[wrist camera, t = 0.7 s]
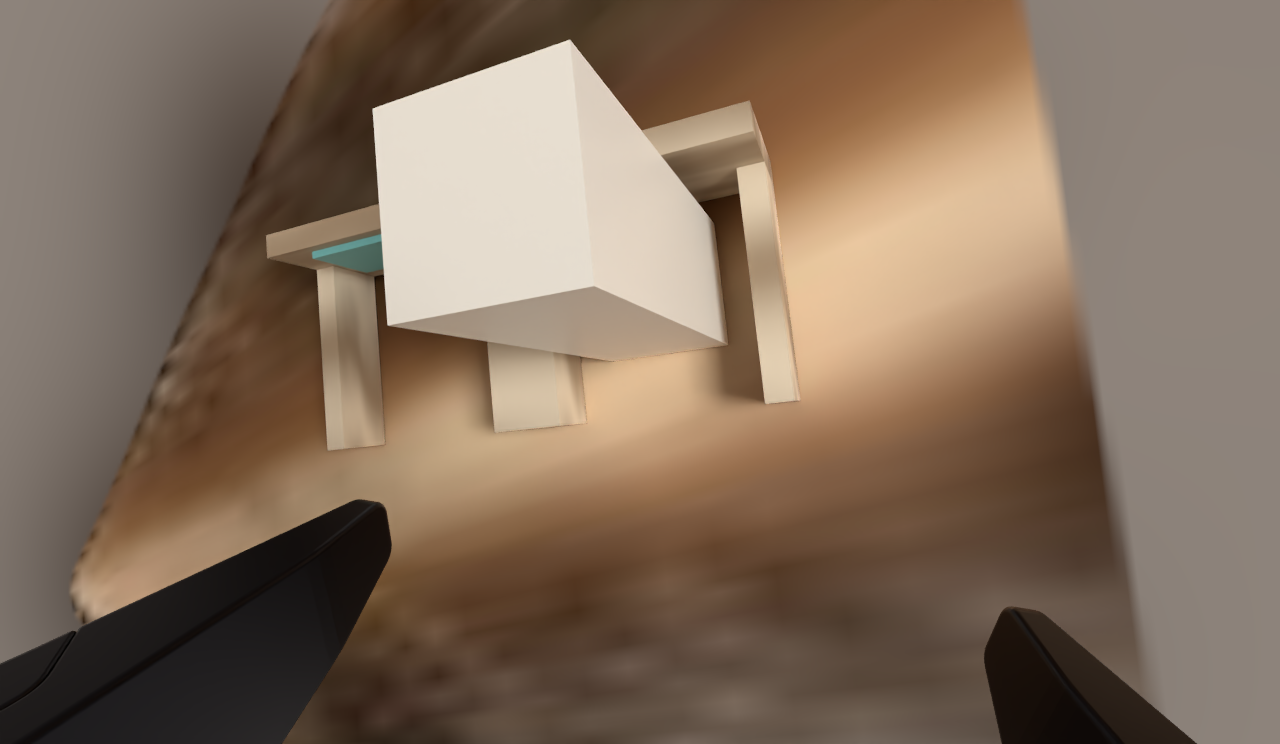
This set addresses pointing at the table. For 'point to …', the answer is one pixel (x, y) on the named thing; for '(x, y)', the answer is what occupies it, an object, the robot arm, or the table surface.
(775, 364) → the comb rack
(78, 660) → the robot arm
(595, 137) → the plug block
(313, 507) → the table surface
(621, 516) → the table surface
